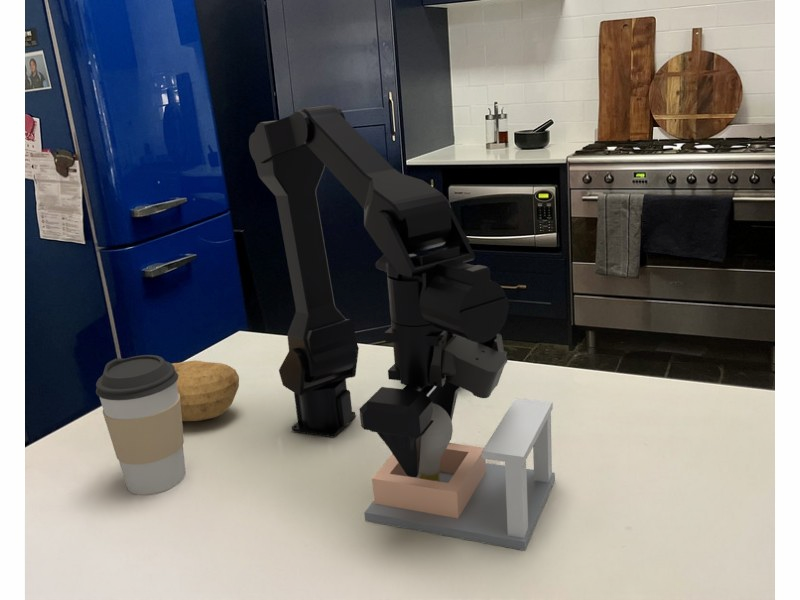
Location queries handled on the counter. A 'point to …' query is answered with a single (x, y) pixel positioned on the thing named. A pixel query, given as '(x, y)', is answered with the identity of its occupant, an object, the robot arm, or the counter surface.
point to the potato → (205, 389)
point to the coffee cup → (144, 421)
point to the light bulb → (434, 443)
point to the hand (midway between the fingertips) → (429, 454)
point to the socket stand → (476, 484)
